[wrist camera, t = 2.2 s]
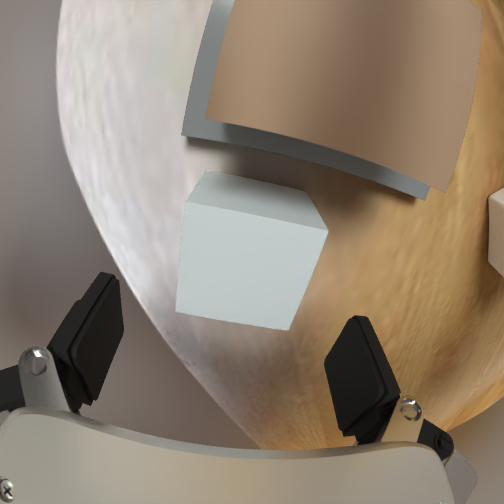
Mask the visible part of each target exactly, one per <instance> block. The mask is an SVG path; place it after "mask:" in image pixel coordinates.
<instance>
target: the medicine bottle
mask: <svg viewBox="0 0 504 504" xmlns="http://www.w3.org/2000/svg"><path fill="white" fill-rule="evenodd" d="M488 200H489V248H488V262H489V263H490V264H491V265H492V266H493V267H494V268H495V269H496V270H497V271H498V272H499V273H500V274H501V275H502V276H503V277H504V188H502V189H500V190H498V191H497V192H495V193H493V194H491V195H490V196H489V198H488Z"/></svg>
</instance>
